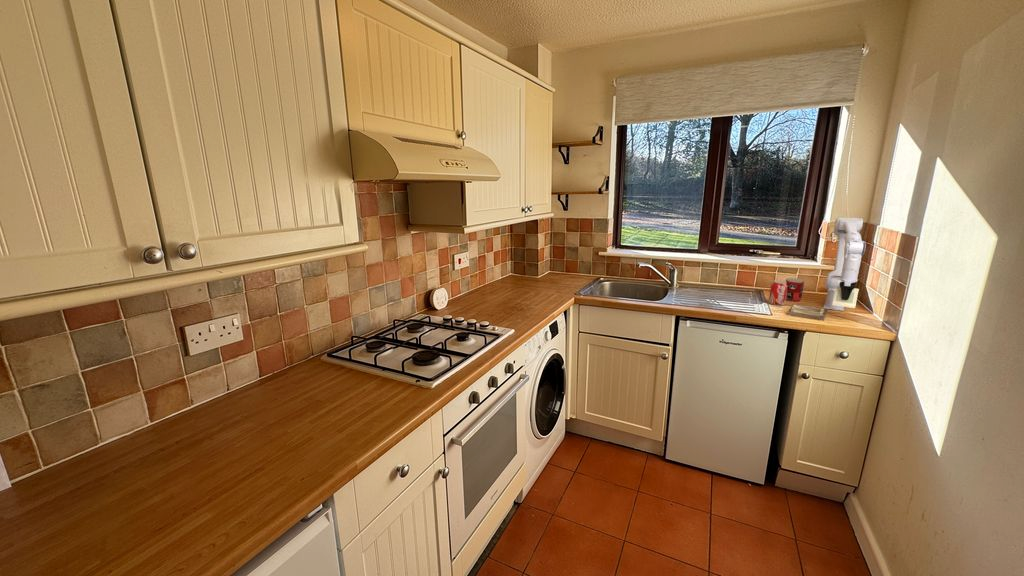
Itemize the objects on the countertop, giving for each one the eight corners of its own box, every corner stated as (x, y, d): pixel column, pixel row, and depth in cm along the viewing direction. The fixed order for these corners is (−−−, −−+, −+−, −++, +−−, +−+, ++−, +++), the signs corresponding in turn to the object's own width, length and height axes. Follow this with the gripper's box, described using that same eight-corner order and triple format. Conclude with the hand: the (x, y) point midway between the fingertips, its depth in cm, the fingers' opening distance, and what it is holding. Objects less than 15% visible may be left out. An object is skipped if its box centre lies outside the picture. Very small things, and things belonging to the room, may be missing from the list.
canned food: (779, 298, 223) (782, 278, 221) (795, 298, 223) (798, 278, 220) (788, 301, 216) (791, 281, 213) (804, 301, 215) (807, 281, 213)
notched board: (793, 305, 209) (793, 300, 209) (827, 310, 200) (828, 305, 200) (786, 314, 194) (787, 309, 194) (823, 320, 186) (824, 315, 185)
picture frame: (833, 302, 189) (836, 285, 187) (855, 305, 184) (858, 288, 182) (832, 305, 186) (835, 287, 184) (855, 308, 180) (858, 290, 179)
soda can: (771, 306, 209) (774, 283, 206) (766, 302, 215) (769, 279, 212) (787, 306, 207) (790, 283, 204) (781, 303, 214) (785, 280, 211)
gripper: (840, 265, 189) (834, 294, 192) (838, 270, 178) (832, 300, 181) (860, 267, 184) (854, 296, 187) (859, 272, 173) (853, 303, 177)
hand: (844, 299), depth 184 cm, fingers closed on picture frame, 3 cm apart
